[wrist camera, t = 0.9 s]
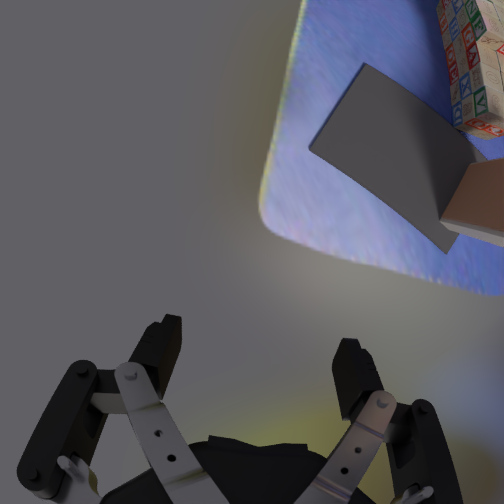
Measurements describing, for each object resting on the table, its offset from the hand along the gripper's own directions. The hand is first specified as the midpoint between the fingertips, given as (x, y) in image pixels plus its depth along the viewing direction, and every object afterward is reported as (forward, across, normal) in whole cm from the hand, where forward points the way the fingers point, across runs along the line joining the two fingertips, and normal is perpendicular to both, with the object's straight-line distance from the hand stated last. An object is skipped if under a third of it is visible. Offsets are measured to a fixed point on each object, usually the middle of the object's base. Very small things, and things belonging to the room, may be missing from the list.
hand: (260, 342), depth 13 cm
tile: (+18, -23, -8) cm, 30 cm away
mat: (+20, -16, -11) cm, 28 cm away
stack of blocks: (+22, -24, -27) cm, 42 cm away
